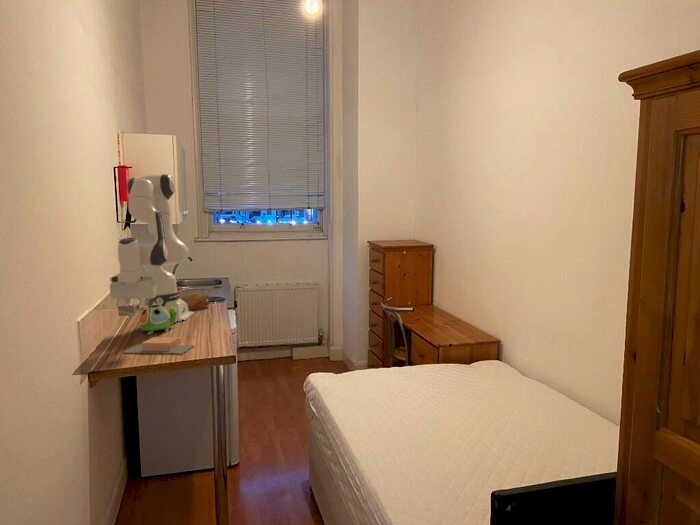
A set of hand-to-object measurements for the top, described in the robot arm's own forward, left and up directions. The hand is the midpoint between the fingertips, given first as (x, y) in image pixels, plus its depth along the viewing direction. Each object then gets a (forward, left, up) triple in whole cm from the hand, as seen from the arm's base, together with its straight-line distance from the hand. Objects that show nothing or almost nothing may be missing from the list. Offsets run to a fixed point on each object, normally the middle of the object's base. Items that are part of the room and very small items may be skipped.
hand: (135, 308), depth 225 cm
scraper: (0, 0, -2) cm, 2 cm away
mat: (+11, +16, -15) cm, 24 cm away
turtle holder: (-18, -1, -15) cm, 23 cm away
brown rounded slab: (-61, -4, -15) cm, 63 cm away
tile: (+5, +16, -13) cm, 21 cm away
